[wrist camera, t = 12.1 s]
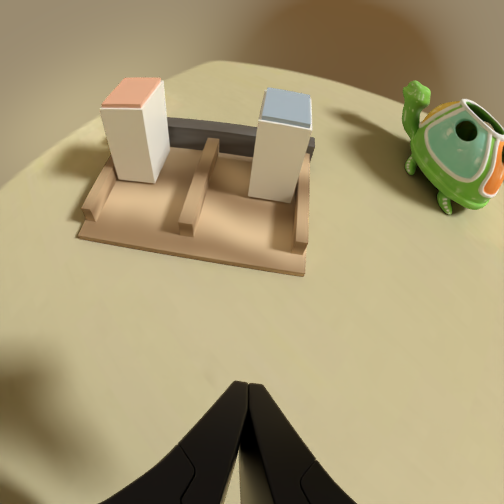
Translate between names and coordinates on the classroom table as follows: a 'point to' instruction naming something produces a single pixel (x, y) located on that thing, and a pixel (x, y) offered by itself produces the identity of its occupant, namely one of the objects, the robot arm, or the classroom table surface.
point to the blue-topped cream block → (280, 144)
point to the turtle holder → (454, 148)
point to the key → (137, 128)
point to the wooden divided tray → (203, 204)
